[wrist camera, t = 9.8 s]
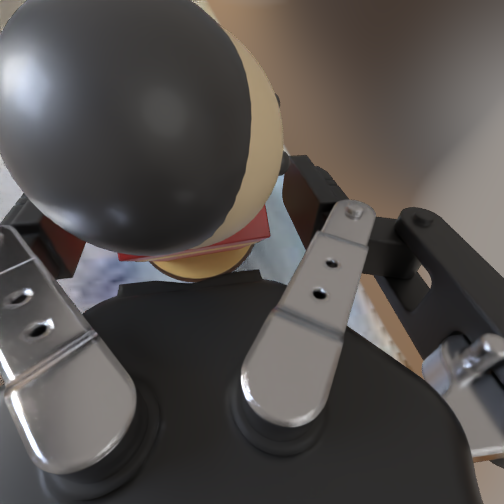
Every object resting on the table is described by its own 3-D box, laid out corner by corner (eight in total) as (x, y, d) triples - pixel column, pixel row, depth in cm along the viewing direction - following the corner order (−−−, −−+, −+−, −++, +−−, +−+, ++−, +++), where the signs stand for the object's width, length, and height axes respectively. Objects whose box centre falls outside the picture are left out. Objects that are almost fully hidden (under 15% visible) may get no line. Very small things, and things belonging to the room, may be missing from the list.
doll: (146, 288, 17) (-161, 419, 3) (126, 168, 17) (-272, -283, 3) (264, 267, 18) (457, 287, 4) (245, 154, 18) (370, -210, 4)
